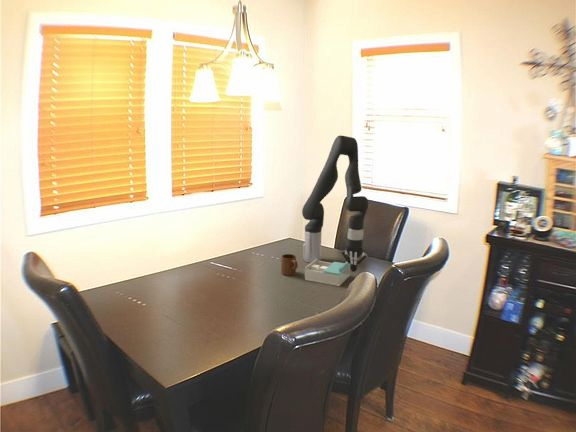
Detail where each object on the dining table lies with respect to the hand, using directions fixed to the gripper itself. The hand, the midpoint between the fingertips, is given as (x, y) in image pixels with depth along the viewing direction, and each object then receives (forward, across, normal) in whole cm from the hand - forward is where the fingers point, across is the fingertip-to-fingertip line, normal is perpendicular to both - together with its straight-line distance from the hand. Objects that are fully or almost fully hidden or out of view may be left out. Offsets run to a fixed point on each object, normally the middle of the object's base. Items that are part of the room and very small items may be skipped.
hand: (353, 271), depth 218 cm
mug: (+6, +32, +5) cm, 33 cm away
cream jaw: (+5, +16, 0) cm, 16 cm away
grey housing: (+6, +14, 0) cm, 15 cm away
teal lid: (0, +9, 0) cm, 9 cm away
